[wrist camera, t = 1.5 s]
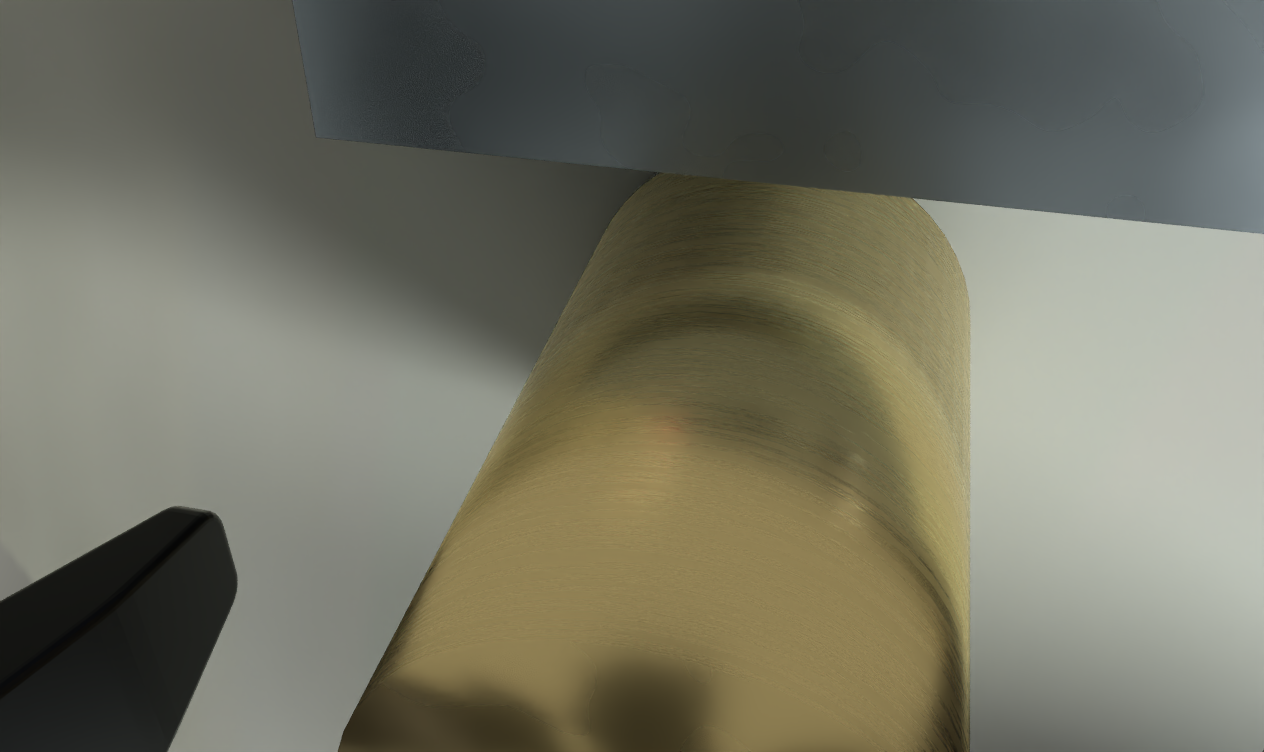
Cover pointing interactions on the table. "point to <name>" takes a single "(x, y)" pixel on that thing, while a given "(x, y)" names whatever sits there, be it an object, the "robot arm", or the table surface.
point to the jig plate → (826, 94)
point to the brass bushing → (715, 500)
